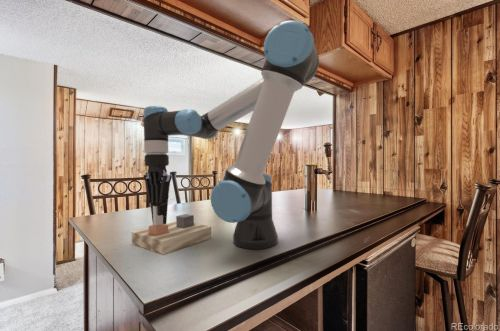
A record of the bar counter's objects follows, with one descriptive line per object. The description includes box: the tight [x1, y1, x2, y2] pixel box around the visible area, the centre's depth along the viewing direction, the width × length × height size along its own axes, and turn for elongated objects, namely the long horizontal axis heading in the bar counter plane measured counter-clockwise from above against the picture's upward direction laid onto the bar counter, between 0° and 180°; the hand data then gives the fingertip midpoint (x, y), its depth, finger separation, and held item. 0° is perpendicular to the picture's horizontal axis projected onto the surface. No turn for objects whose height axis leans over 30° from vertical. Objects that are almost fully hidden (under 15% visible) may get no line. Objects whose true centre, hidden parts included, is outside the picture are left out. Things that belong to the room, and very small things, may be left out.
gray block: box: [175, 213, 195, 228], centre depth 92 cm, size 4×4×5 cm
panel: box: [131, 221, 213, 256], centre depth 87 cm, size 18×20×4 cm
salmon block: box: [148, 223, 168, 236], centre depth 83 cm, size 4×4×5 cm
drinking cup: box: [149, 195, 170, 224], centre depth 102 cm, size 8×8×20 cm
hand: (158, 224), depth 83 cm, fingers closed
